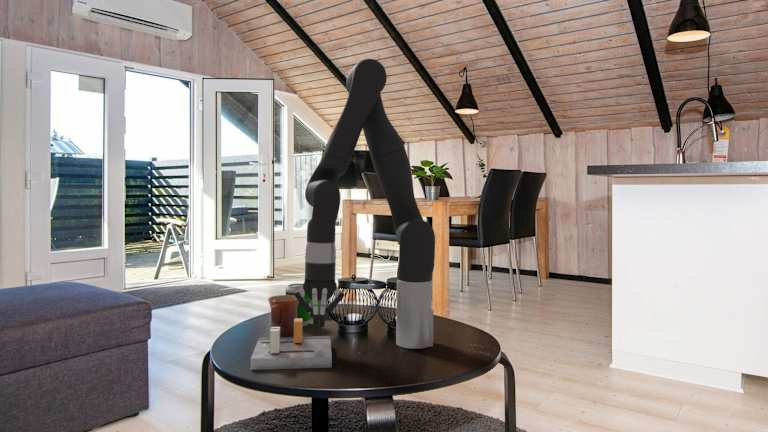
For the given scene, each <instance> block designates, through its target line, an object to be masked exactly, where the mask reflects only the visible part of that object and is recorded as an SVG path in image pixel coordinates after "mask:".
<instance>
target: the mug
mask: <svg viewBox="0 0 768 432" xmlns="http://www.w3.org/2000/svg"><path fill="white" fill-rule="evenodd" d="M267 298H268V299H267V300H268V303H269V307H270V328H271V327H280V337H294V319H295V318H297V309H298V304H299V301H298V300H297V298H296V297H295V296H293V295H286V294H281V295H273V296H270V297H267Z"/></svg>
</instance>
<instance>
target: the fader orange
mask: <svg viewBox="0 0 768 432" xmlns="http://www.w3.org/2000/svg"><path fill="white" fill-rule="evenodd" d="M303 329H304V328H303V318H295V319H294V335H293V337H294V343H302V337H303Z"/></svg>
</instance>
